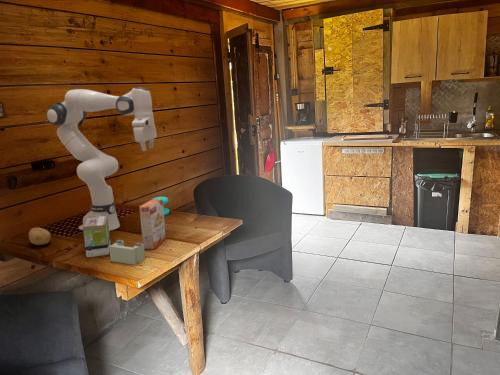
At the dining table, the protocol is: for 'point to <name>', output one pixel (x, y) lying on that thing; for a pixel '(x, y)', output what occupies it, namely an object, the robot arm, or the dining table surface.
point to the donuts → (165, 200)
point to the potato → (39, 236)
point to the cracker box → (152, 223)
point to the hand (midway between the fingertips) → (147, 149)
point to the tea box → (96, 236)
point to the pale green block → (127, 253)
